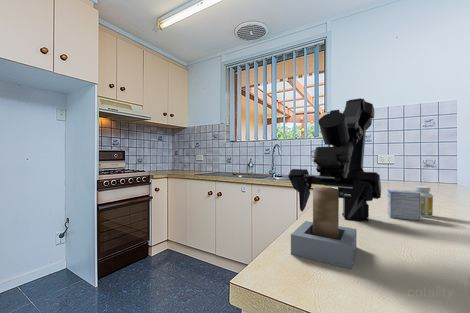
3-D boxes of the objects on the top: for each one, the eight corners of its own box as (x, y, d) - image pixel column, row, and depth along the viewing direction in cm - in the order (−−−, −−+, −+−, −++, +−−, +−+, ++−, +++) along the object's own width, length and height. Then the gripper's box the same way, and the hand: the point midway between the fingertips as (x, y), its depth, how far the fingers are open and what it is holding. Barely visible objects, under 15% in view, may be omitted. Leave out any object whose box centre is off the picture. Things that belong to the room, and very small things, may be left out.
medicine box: (416, 217, 72) (416, 190, 72) (421, 221, 68) (421, 192, 68) (387, 214, 75) (387, 189, 75) (390, 218, 71) (390, 191, 71)
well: (351, 268, 39) (351, 246, 39) (290, 253, 45) (290, 234, 45) (356, 247, 49) (356, 228, 49) (305, 237, 55) (305, 220, 55)
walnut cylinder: (308, 250, 47) (308, 189, 47) (319, 243, 51) (319, 186, 50) (332, 258, 44) (332, 192, 43) (342, 250, 47) (342, 189, 47)
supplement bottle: (416, 216, 72) (416, 187, 72) (408, 212, 77) (408, 185, 77) (436, 218, 71) (436, 188, 71) (427, 214, 76) (427, 185, 76)
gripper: (291, 136, 56) (269, 185, 47) (379, 131, 44) (371, 195, 36) (303, 166, 62) (285, 214, 53) (383, 169, 50) (377, 231, 42)
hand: (322, 213), depth 46 cm, fingers open, 9 cm apart
